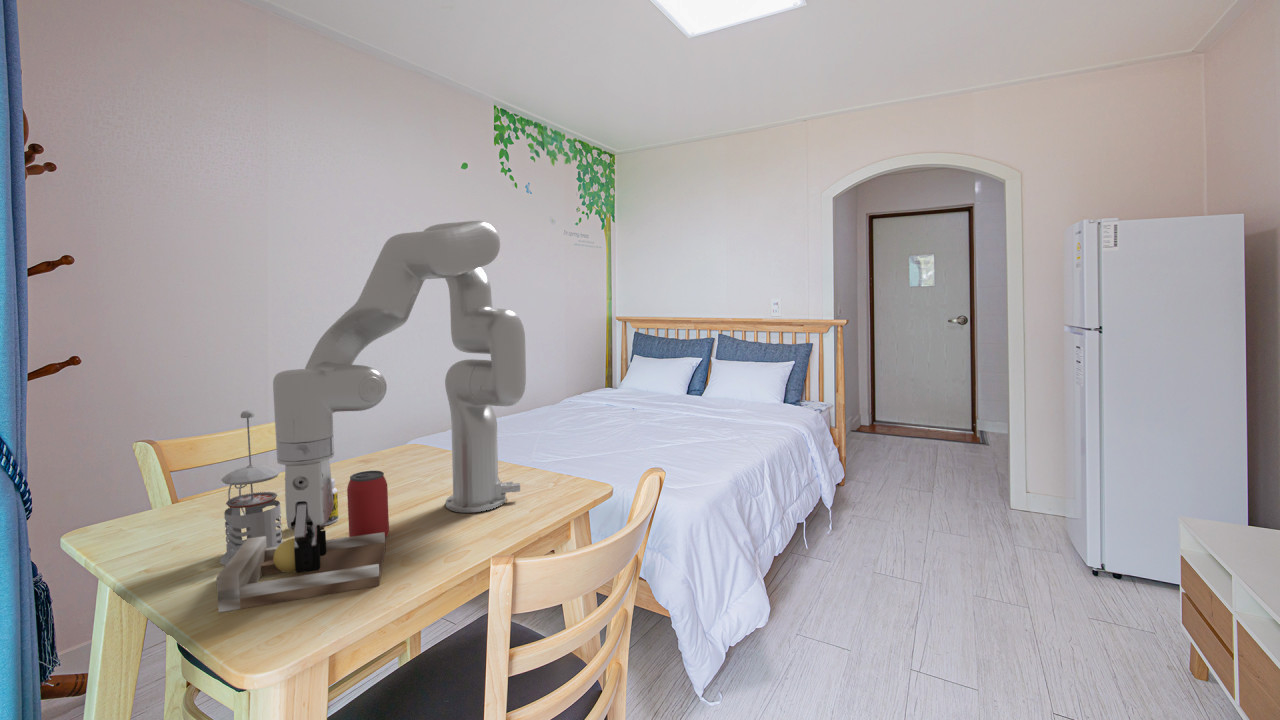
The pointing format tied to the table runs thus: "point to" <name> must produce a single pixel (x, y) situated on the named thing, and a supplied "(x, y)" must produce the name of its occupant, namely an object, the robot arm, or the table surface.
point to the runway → (339, 571)
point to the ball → (285, 556)
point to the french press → (251, 507)
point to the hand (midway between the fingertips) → (311, 562)
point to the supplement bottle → (334, 512)
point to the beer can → (368, 503)
